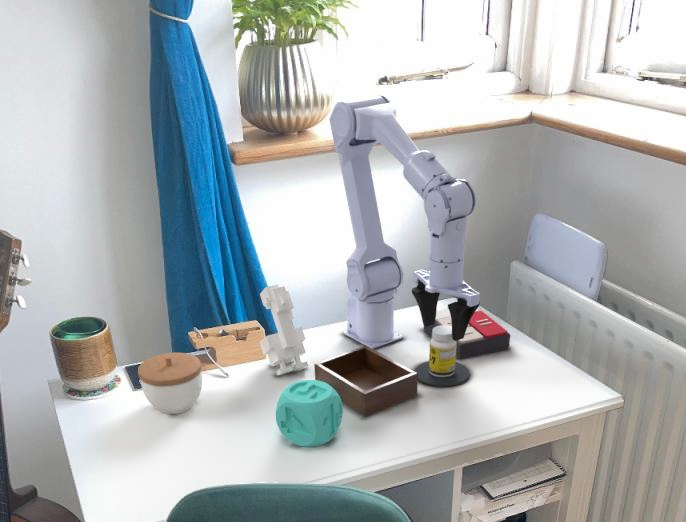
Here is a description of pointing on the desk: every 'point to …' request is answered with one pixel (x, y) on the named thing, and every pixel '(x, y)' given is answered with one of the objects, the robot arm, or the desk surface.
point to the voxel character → (282, 331)
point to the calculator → (475, 334)
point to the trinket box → (171, 381)
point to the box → (367, 380)
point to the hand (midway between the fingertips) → (443, 331)
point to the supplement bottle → (442, 352)
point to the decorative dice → (309, 413)
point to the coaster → (429, 379)
